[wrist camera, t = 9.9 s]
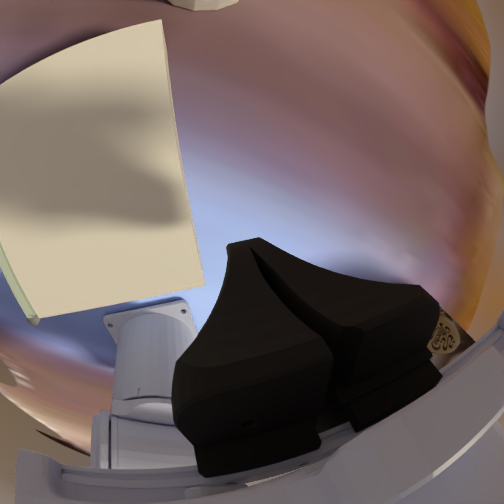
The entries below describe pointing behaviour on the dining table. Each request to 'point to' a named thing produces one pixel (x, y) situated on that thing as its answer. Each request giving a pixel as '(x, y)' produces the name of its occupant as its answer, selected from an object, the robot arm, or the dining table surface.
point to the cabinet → (95, 176)
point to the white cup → (202, 4)
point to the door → (17, 289)
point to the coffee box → (447, 341)
